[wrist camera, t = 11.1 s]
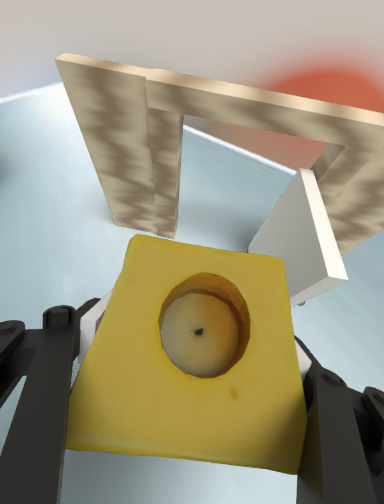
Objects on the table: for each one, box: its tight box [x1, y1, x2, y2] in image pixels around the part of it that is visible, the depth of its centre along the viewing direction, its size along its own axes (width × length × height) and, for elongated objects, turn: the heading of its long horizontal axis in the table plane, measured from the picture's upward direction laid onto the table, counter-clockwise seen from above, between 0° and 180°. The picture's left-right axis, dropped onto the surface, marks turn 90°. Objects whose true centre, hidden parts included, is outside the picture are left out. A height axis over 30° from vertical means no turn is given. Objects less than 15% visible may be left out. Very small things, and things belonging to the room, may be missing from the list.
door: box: [248, 168, 348, 308], centre depth 24 cm, size 14×3×16 cm, turn 171°
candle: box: [65, 234, 308, 475], centre depth 13 cm, size 10×10×10 cm
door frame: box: [55, 53, 384, 256], centre depth 26 cm, size 40×3×22 cm, turn 81°
